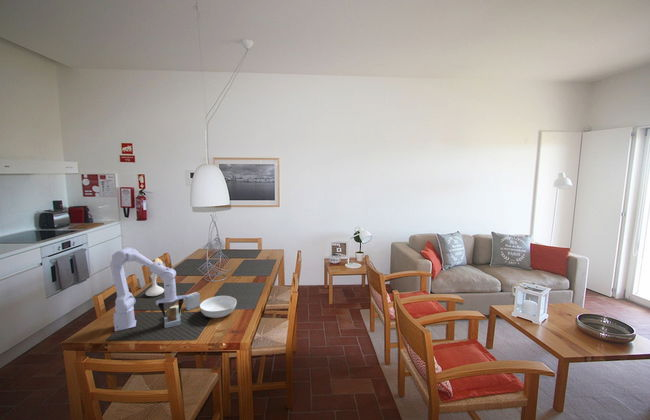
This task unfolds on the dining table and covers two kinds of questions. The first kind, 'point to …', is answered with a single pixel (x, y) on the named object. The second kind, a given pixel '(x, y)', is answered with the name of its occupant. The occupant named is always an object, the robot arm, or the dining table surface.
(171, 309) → the walnut block
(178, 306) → the sage block
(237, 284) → the dining table surface
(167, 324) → the base block
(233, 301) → the serving bowl
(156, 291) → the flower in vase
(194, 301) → the medicine box
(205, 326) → the dining table surface
